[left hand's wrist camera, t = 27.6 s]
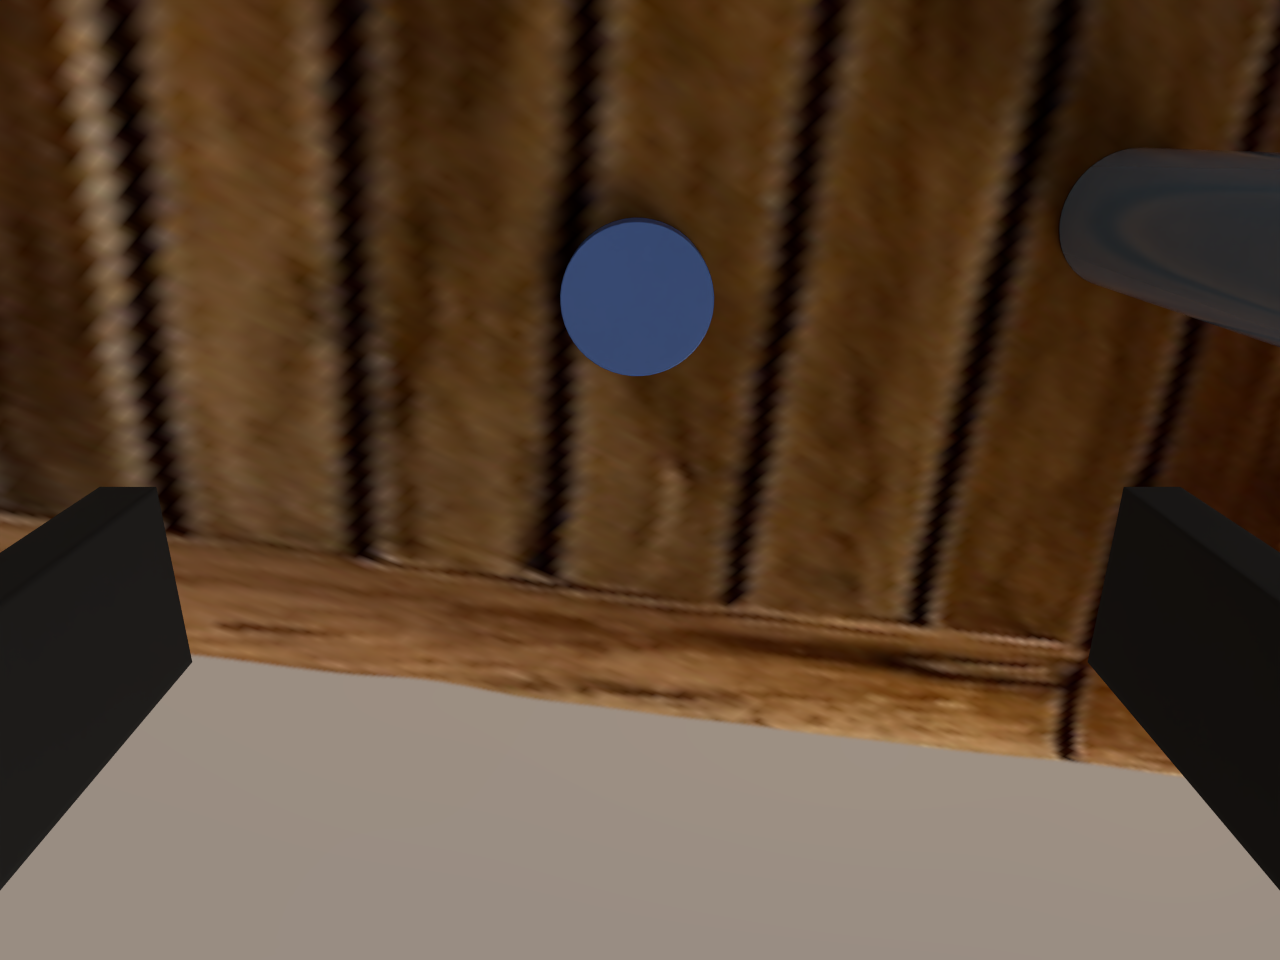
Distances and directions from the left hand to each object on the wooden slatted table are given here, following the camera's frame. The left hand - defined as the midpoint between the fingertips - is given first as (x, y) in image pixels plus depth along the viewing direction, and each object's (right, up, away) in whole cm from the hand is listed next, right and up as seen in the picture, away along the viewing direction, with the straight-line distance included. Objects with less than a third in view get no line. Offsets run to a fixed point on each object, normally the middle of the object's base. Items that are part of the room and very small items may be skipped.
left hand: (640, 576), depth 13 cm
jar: (+19, +12, +23) cm, 33 cm away
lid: (0, +8, +23) cm, 25 cm away
